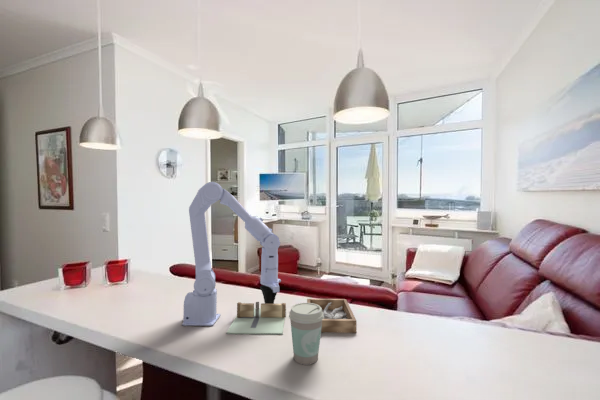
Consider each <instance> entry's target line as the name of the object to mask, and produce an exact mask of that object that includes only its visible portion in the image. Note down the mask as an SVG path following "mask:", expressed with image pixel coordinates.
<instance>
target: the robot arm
mask: <svg viewBox="0 0 600 400" xmlns="http://www.w3.org/2000/svg"><path fill="white" fill-rule="evenodd" d="M218 201H219V204H220V205H224V206H226V207H228V208H229V209H230V210H231V211H233V213H234V214H235V215H237V217H239V219H241V220H242V221H243V223H244V228H245V230H246V231H247V232H248V233H249V234H250V235H251V236H252V237H253V238H254V239H255V240H256V242H259V244H260V245H261V246H262V247H261V254H260V255H261V259H260V261H261V262H260V263H261V264H260V265H261V266H260V268H261V269H260V270H261V271H260V282H259V283H260V284H261V286H260V287H259V289H260V291H261V294H262V296H263V301H264V303H268V304H275V299H276V296H277V294H278V293H280V285H279V283H281V282H282V280H281V278H279V276H278V275H279V254H278V252H279V250H278V249H279V248H280V246H281V241H280V238H279V236H278V235H277V234H275V233H274V232H273V229H272V228H271V227H268V226H267V224H265V222H264V219H263V218H262V217H258V216H257V215H254V216H253V215H252V214H250V213H249V212H248V210H247V209H246V208H245V207H244V206H243V205H242V204H241V203H240V201H239V200H237V198H236V197H235V196H234V195H232V194H231V193H230V191H228V190H227V189H225V188H223V187H222V186H221V184H219V183H218V182H215V181H209V182H207V183H205V184H204V185H202V186H201V187H200V188H199V189H198V190H197V192H196V195H195V197H194V198H193V199H192V202H191V203H190V205H189V207H188V214H189V215H188V216H189V221H190V222H189V223H190V224H189V225H190V229H191V230H190V231H191V238H192V246H193V247H192V248H193V254H194V256H193V257H194V263H195V280H194V283H193V290H192V291H191V292H187V293H186V295H185V297H184V300H183V315H182V316H183V318H182V319H183V322H182V323H181V326H187V327H189V326H194V327H195V326H196V327H198V326H199V327H200V326H201V327H202V326H203V327H204V326H206V327H211V326H212V327H213V326H215V323H216V322H217V321H218V320H219V318H220V317H221V313H217V306H218V305H217V303H218V301H217V297H218V296H217V295H218V293H217V292H218V290H217V288H216V284H217V283H216V273H215V272H214V270H213V267H212V263H211V256H210V248H209V240H208V239H209V238H208V232H207V230H208V229H207V222H206V215H205V213H206V212H207V211H208V209H210V207H211V206H212V205H214V204H215V203H217V202H218Z"/></svg>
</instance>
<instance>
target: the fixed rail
mask: <svg viewBox="0 0 600 400" xmlns="http://www.w3.org/2000/svg"><path fill="white" fill-rule="evenodd" d="M254 308H256V318H259V308H260V302H259V301H256V302H254V303H253V302H252V303H249V302H246V303H245V302H241V301H240V302H239V301H238V302H237V303H236V316H237V318H241V317H253V316H254Z"/></svg>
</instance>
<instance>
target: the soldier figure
mask: <svg viewBox="0 0 600 400" xmlns="http://www.w3.org/2000/svg"><path fill="white" fill-rule="evenodd" d="M330 304H331V303H328V305H327V306H326V307H325V309H324V310H323V311H322V312H323V315H324V318H323V319H344V317H345V318H346V315H347V314H346V313H345V312H344V313H343V314H339V315H337V316H336V313H338V312H340V311H343V310H342V308H343V307H342V306H341V307H340V308H338V309H336V308H335V310H332V311H331V312H327V311H328V310H327V309H328V306H331V305H330Z"/></svg>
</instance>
